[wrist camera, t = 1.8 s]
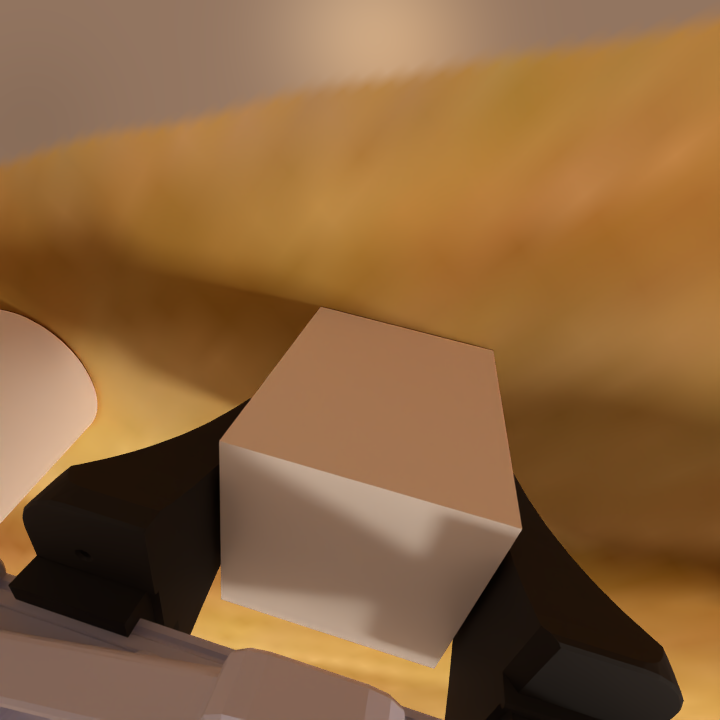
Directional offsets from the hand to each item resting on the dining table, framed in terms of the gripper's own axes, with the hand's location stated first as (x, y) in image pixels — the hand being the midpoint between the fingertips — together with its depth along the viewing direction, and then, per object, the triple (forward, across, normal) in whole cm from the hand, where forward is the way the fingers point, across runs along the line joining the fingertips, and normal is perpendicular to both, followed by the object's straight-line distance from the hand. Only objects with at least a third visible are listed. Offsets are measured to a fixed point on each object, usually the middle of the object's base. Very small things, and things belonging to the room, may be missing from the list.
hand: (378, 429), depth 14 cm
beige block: (+2, 0, 0) cm, 2 cm away
